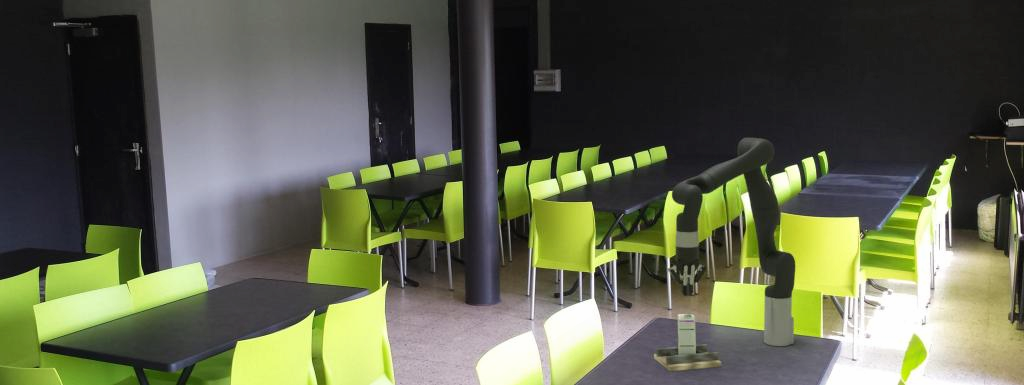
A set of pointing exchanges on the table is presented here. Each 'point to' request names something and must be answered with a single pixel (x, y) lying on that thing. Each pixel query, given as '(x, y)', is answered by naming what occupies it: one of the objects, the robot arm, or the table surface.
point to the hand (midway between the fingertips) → (687, 295)
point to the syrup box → (686, 334)
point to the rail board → (687, 358)
